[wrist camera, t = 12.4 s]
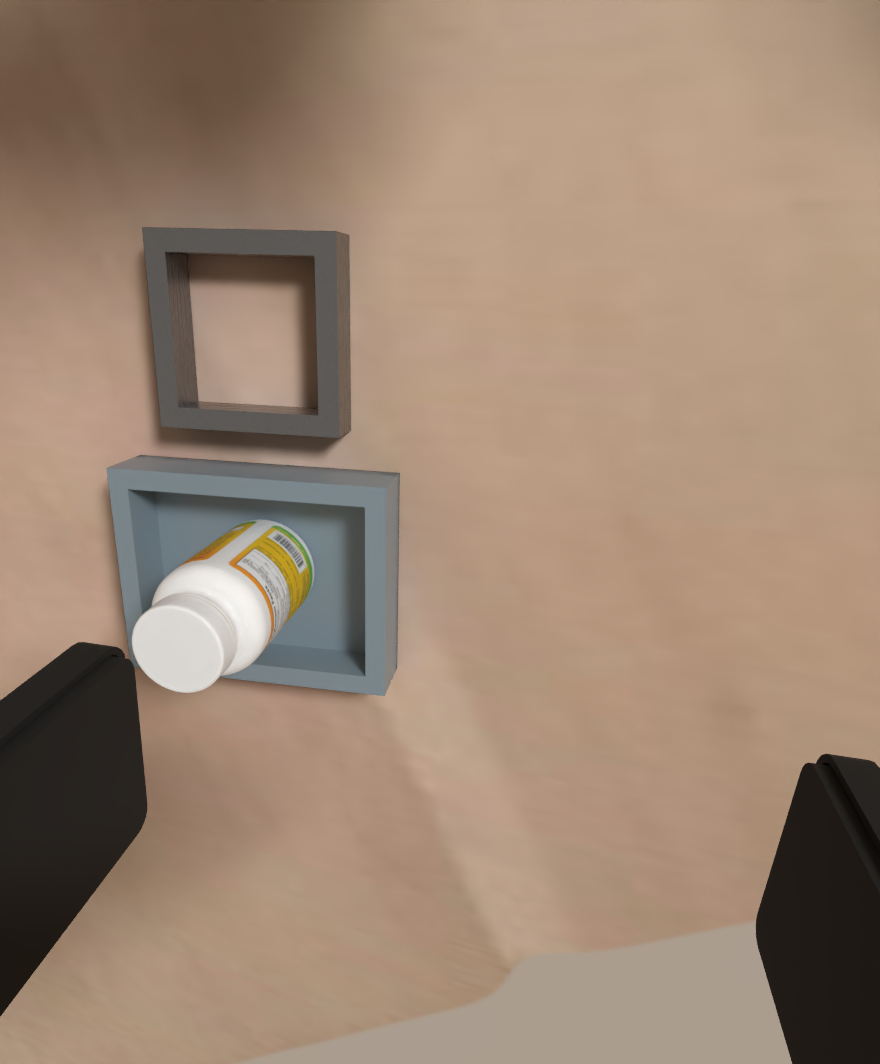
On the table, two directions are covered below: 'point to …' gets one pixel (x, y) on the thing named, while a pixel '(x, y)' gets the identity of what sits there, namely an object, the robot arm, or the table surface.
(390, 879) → the table surface
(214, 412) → the cradle
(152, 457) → the tray
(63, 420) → the table surface
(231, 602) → the supplement bottle
